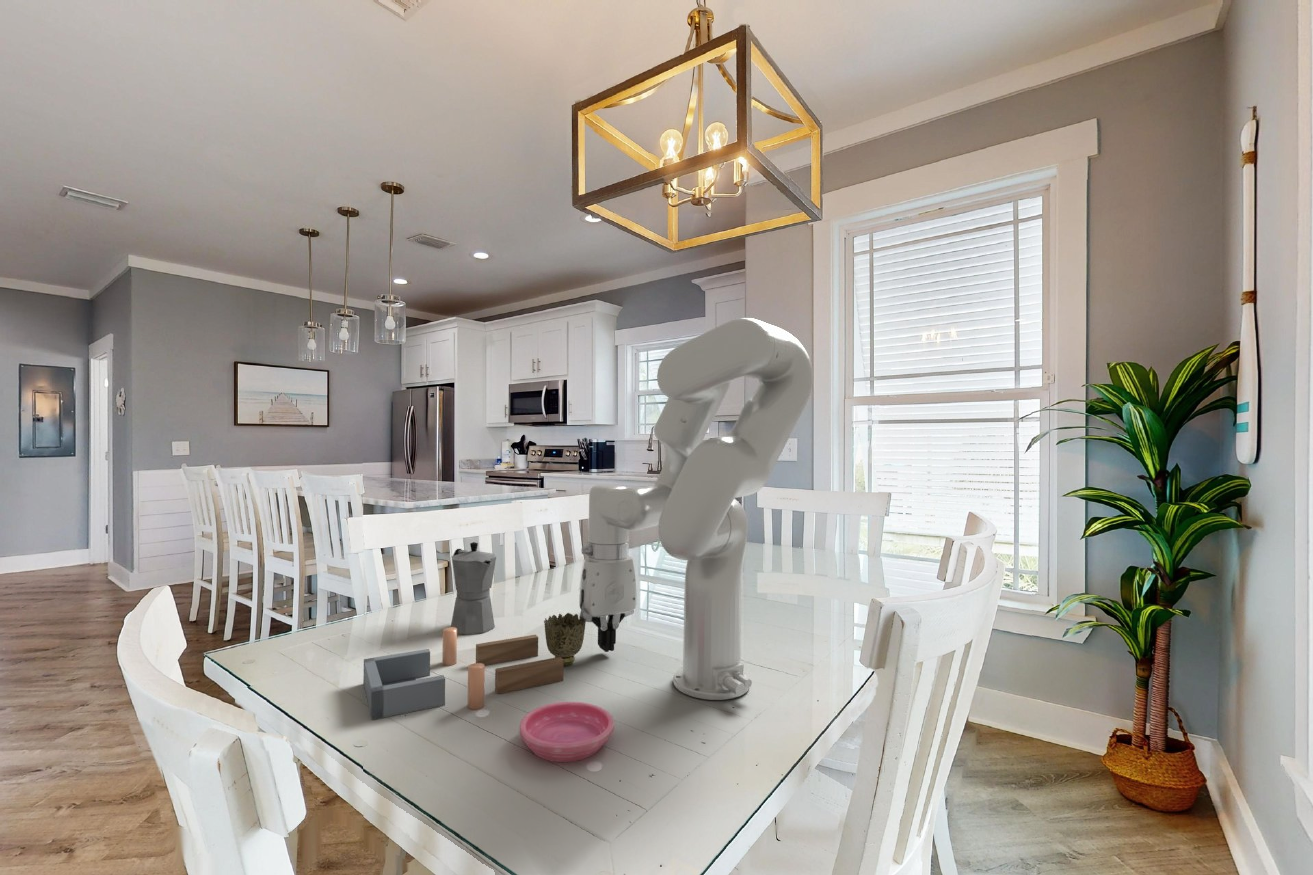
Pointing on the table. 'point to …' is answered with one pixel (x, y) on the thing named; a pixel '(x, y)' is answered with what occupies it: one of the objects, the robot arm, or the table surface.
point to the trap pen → (401, 684)
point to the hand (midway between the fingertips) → (606, 648)
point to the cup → (564, 636)
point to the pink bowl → (566, 730)
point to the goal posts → (474, 670)
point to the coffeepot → (473, 591)
